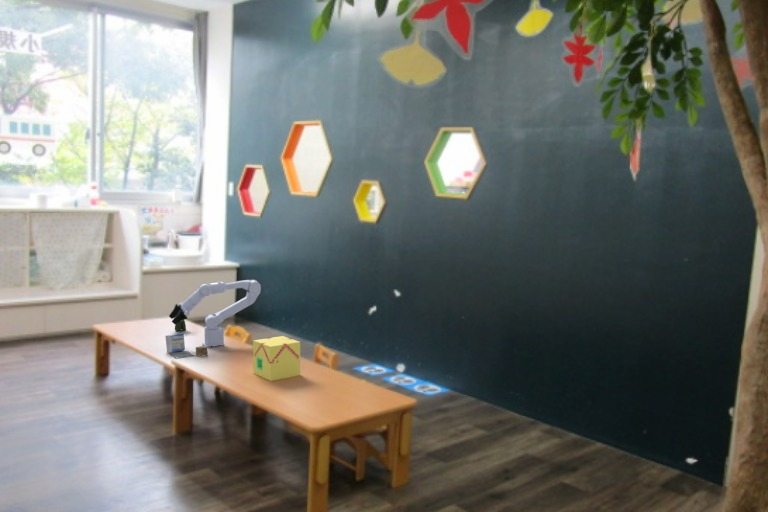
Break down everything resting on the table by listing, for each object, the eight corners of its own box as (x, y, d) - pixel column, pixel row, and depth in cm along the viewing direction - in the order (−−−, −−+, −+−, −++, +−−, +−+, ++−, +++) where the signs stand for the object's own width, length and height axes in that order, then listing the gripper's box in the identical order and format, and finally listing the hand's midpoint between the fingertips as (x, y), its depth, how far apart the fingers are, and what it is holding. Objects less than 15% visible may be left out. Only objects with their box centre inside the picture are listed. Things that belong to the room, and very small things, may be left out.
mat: (187, 351, 325) (187, 350, 325) (193, 356, 316) (193, 355, 316) (169, 353, 320) (169, 353, 320) (175, 358, 312) (175, 357, 312)
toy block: (253, 373, 288) (253, 340, 286) (282, 367, 297) (282, 335, 296) (270, 381, 276) (270, 346, 275) (300, 375, 286) (300, 341, 285)
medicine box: (171, 353, 320) (170, 335, 320) (166, 352, 323) (165, 335, 322) (185, 350, 326) (183, 333, 326) (180, 349, 329) (178, 332, 329)
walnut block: (203, 353, 321) (202, 345, 321) (207, 355, 319) (207, 347, 318) (196, 355, 319) (195, 347, 318) (200, 356, 316) (200, 348, 315)
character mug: (173, 332, 368) (172, 310, 367) (169, 330, 374) (168, 308, 372) (191, 330, 375) (191, 308, 373) (187, 328, 380) (187, 306, 379)
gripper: (183, 292, 338) (163, 310, 336) (189, 301, 326) (169, 320, 324) (192, 301, 342) (173, 318, 340) (198, 310, 330) (178, 329, 327)
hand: (171, 320), depth 332 cm, fingers open, 7 cm apart
